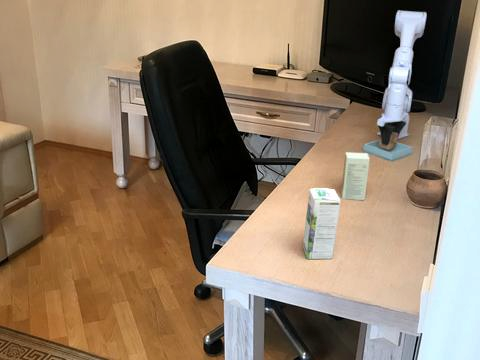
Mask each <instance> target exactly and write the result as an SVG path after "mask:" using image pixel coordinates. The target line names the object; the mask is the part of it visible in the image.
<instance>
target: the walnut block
mask: <svg viewBox="0 0 480 360" xmlns="http://www.w3.org/2000/svg"><path fill="white" fill-rule="evenodd" d="M397 136H398V133H395V132H392V134H391V137H390V141H389V144H388V145H385V144H382V139H381V134H380V135H379V139H380V141H379V147H382V148H385V149H388V150H390V149H393V148H396V142H398V139H397Z"/></svg>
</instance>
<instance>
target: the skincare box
mask: <svg viewBox="0 0 480 360" xmlns="http://www.w3.org/2000/svg"><path fill="white" fill-rule="evenodd" d="M344 153H345V154H344V163H343V171H342V183H341V190H340V193H341V199H342V200H357V201H365V200H366V199H365V198H366V194H367V193H366V192H367V184H368V175H369V168H370V167H369V166H370V161H371V160H370V155H369V153H367V152H365V153H364V152H347V151H345V152H344Z"/></svg>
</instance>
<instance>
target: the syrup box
mask: <svg viewBox="0 0 480 360" xmlns="http://www.w3.org/2000/svg"><path fill="white" fill-rule="evenodd" d="M340 208H341V199H340V197H339V194H338V193H337V191H336V190H335V189H333V188H320V187H317V188H310V189H309V193H308V201H307V209H306V216H305V223H304V224H305V225H304V230H303V231H304V232H303V241H302V248H303V250H304V253H305V254H304V255H305V256H306V259H307V260H332V259H333V256H334V251H335V250H334V249H335V244H336V243H335V242H336V235H337V229H338V222H339V215H340Z"/></svg>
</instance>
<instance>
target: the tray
mask: <svg viewBox="0 0 480 360" xmlns="http://www.w3.org/2000/svg"><path fill="white" fill-rule="evenodd" d="M379 141H380V138H379V139H376V140H373V141H370V142H366V143H364V144H363V147H362V151H363V153H364V152H365V153H368V154H370V155H373V156H376V157H377V158H381V159H384V160H387V161H389V162H394V161H395V162H396V161H397V160H399V159H403V158H405V157H408V156H411V155H413V151H414V147H413V146H411V145H408V144H404V143H401V142H399V141H397V142H396V148H393V149H390V150H388V149H385V148H382V147H379Z"/></svg>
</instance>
